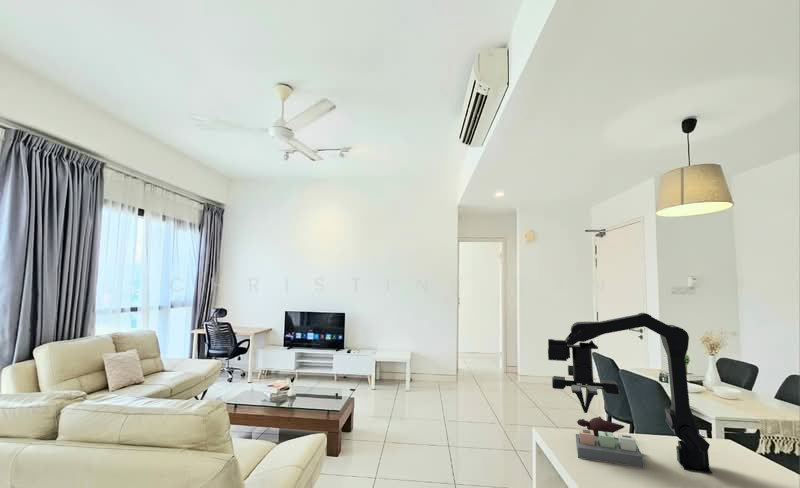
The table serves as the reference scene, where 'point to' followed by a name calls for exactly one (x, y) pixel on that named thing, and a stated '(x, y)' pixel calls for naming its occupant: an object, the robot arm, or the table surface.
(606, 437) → the key sage
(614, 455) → the keypad
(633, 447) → the key ivory
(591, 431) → the key coral
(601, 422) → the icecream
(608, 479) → the table surface
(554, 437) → the table surface
